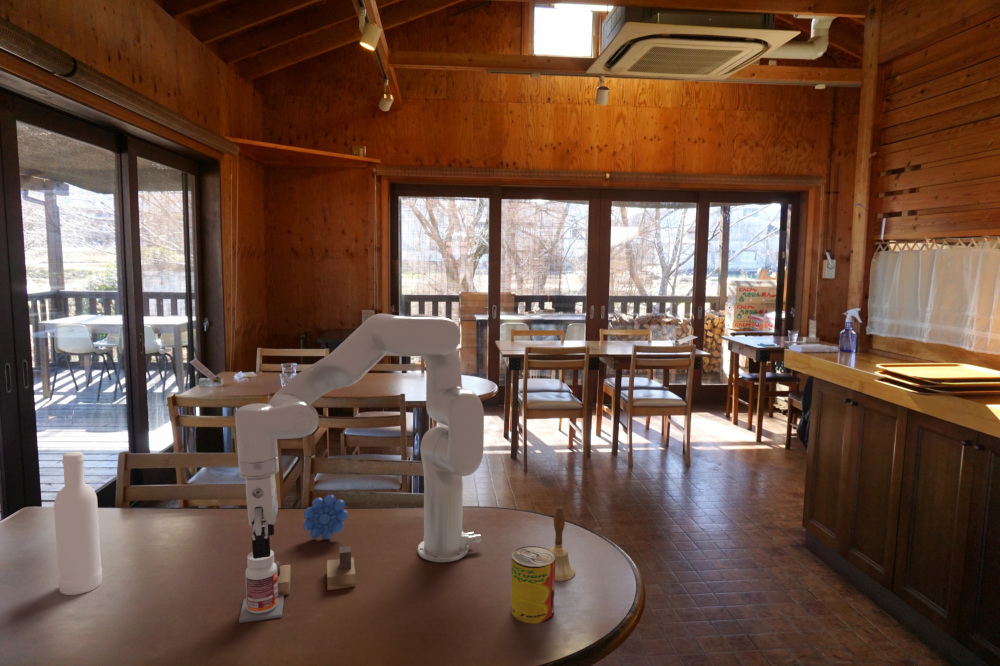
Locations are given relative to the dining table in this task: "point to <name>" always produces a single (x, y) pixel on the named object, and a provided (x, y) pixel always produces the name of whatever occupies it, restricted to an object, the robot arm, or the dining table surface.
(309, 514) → the blue flower
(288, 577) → the wooden knob block
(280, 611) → the coaster
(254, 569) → the pill bottle
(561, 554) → the hand bell
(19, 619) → the dining table surface
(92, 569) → the bottle
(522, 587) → the beverage can
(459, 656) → the dining table surface
